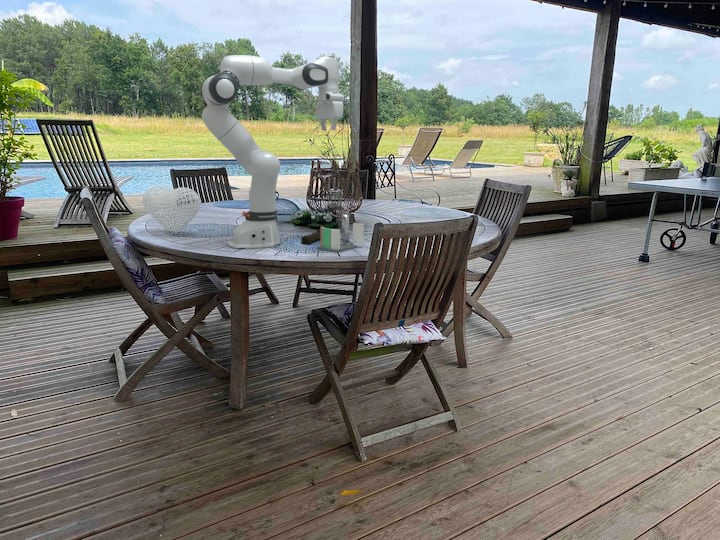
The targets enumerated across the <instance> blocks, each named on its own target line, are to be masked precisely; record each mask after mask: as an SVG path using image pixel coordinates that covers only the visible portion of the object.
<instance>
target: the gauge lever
mask: <svg viewBox="0 0 720 540" xmlns="http://www.w3.org/2000/svg"><path fill="white" fill-rule="evenodd" d="M336 223H338V224H340V223H341V241H342V242H350V236H352V242H353V244H354V243H356V244H364V241H365V240H364V239H365V237H364V235H365V224H364V223H360V222H357V223H355V222H353V223H352V230H350V214H347V213H345V214H341V218H339V219H337V220H336Z"/></svg>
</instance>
